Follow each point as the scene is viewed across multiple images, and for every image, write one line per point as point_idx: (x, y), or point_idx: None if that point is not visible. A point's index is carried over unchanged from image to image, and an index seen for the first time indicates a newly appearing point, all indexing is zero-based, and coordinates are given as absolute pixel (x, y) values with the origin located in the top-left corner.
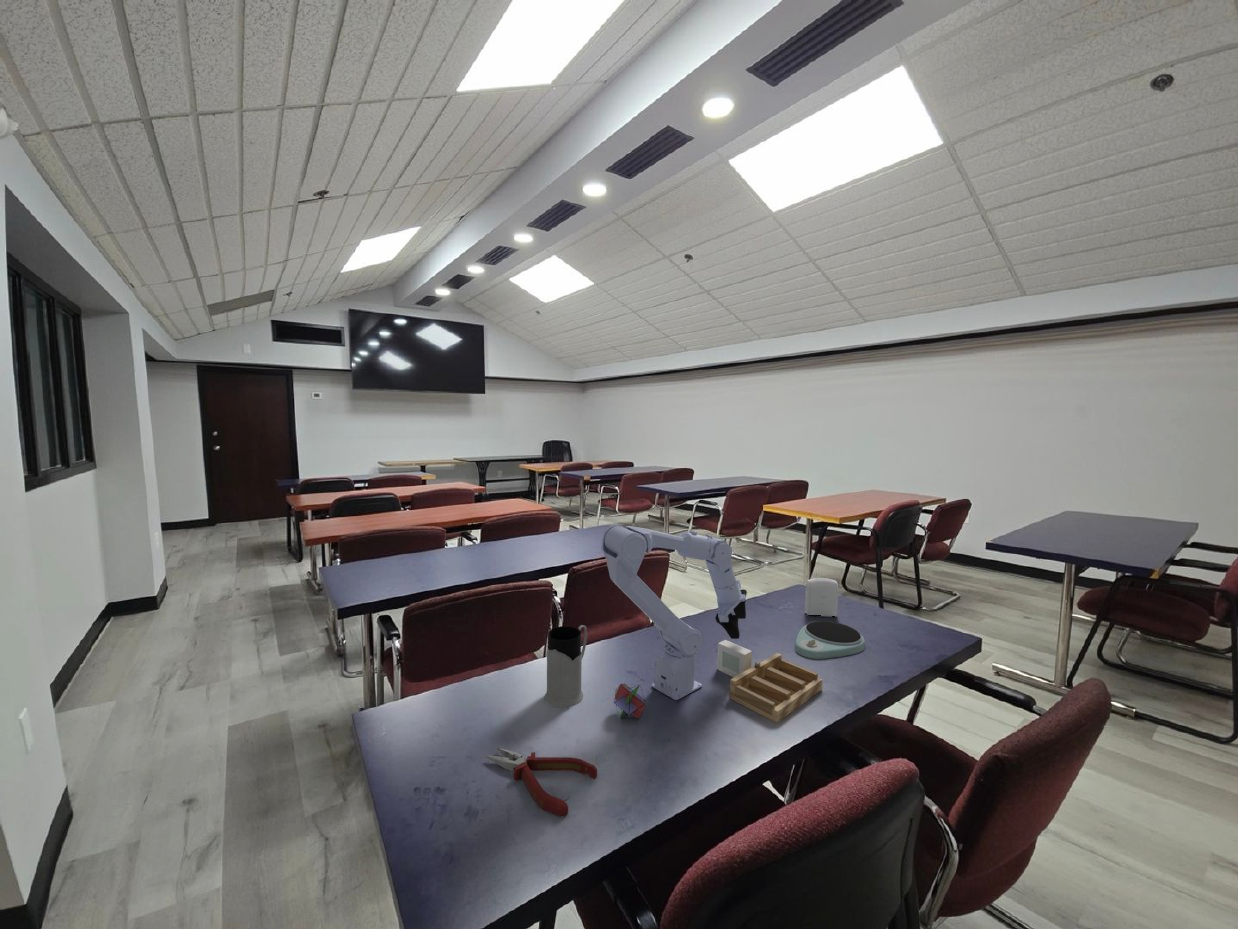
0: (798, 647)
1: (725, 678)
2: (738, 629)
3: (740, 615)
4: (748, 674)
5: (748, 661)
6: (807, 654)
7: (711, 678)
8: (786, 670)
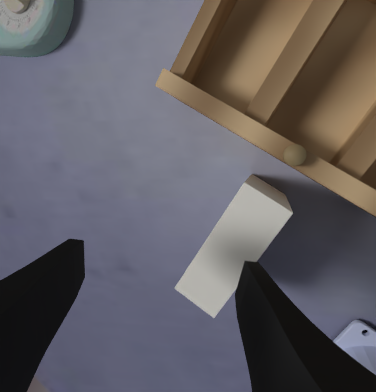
0: (43, 36)
1: (277, 247)
2: (271, 297)
3: (74, 275)
4: (371, 188)
5: (265, 190)
6: (65, 9)
7: (290, 287)
8: (202, 60)
